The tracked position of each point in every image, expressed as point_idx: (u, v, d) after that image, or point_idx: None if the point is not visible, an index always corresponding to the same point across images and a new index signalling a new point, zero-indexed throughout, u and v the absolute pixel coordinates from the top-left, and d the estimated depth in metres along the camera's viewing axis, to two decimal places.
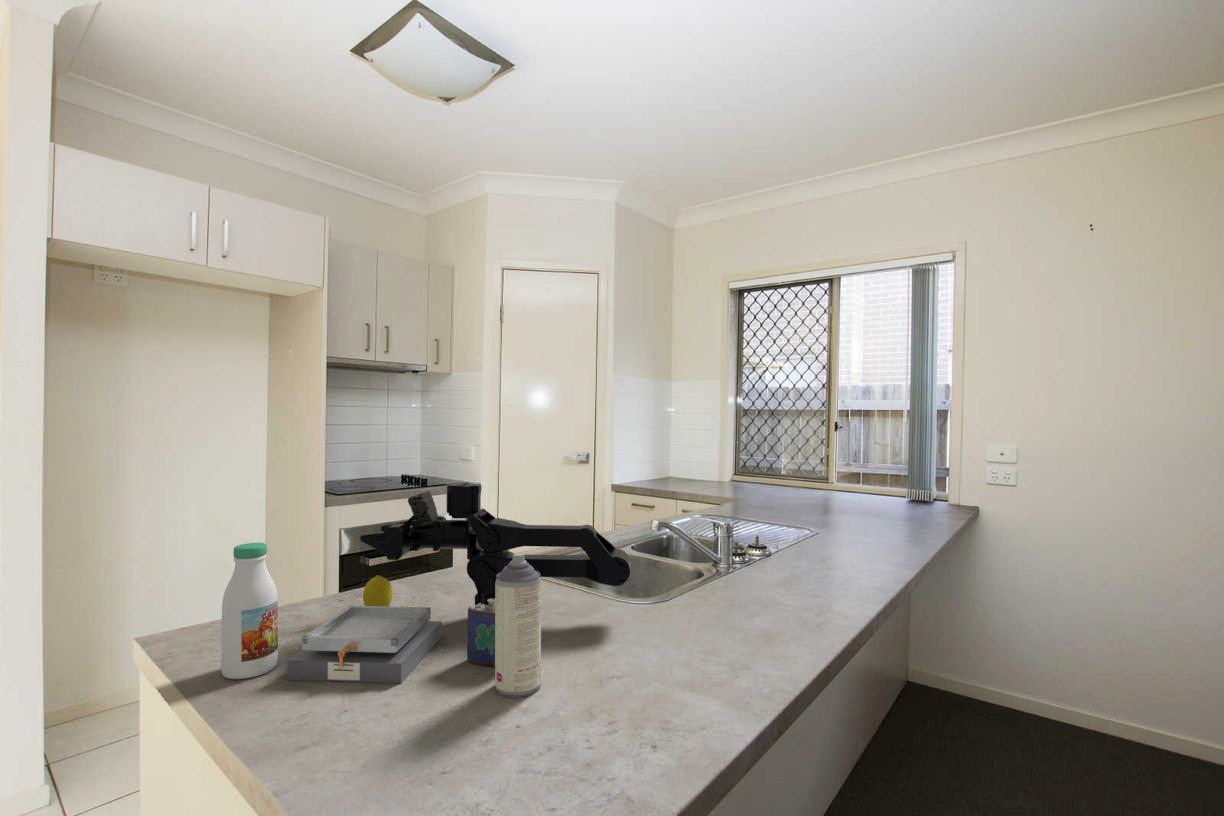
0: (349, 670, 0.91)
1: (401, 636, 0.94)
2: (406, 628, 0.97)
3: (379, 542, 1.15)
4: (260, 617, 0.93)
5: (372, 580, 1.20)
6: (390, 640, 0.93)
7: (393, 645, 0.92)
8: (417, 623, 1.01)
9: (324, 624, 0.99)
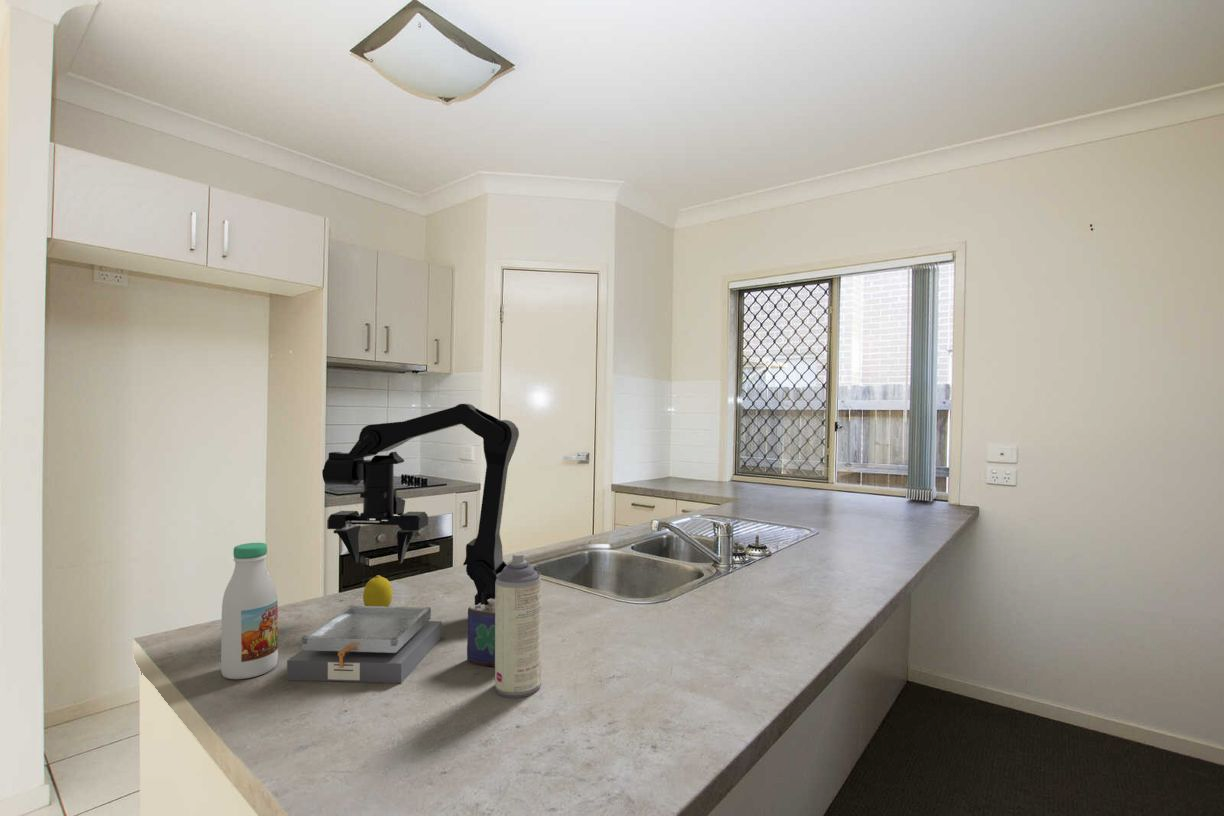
0: (349, 670, 0.91)
1: (401, 636, 0.94)
2: (406, 628, 0.97)
3: None
4: (260, 617, 0.93)
5: (372, 580, 1.20)
6: (390, 640, 0.93)
7: (393, 645, 0.92)
8: (417, 623, 1.01)
9: (324, 624, 0.99)
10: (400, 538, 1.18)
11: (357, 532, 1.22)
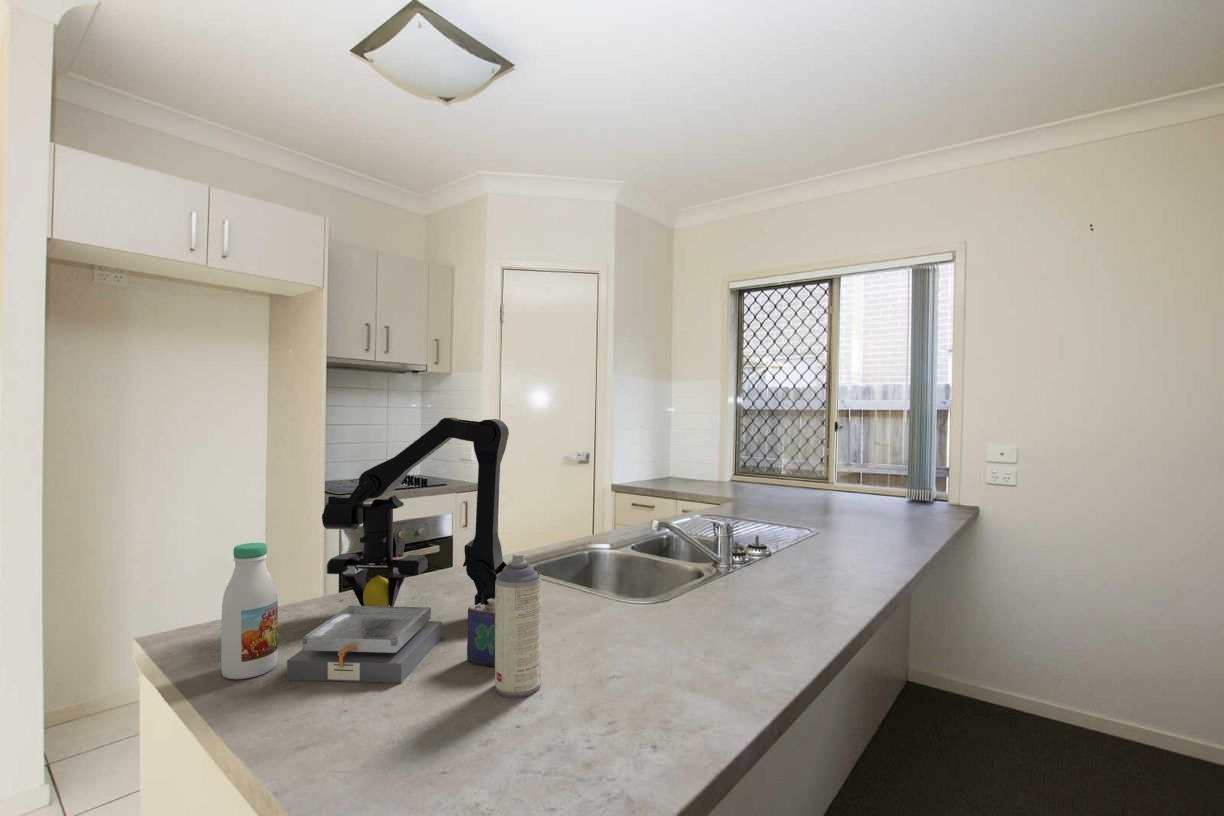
0: (349, 670, 0.91)
1: (401, 636, 0.94)
2: (406, 628, 0.97)
3: None
4: (260, 617, 0.93)
5: (372, 580, 1.20)
6: (390, 640, 0.93)
7: (393, 645, 0.92)
8: (417, 623, 1.01)
9: (324, 624, 0.99)
10: (391, 583, 1.18)
11: (364, 576, 1.22)
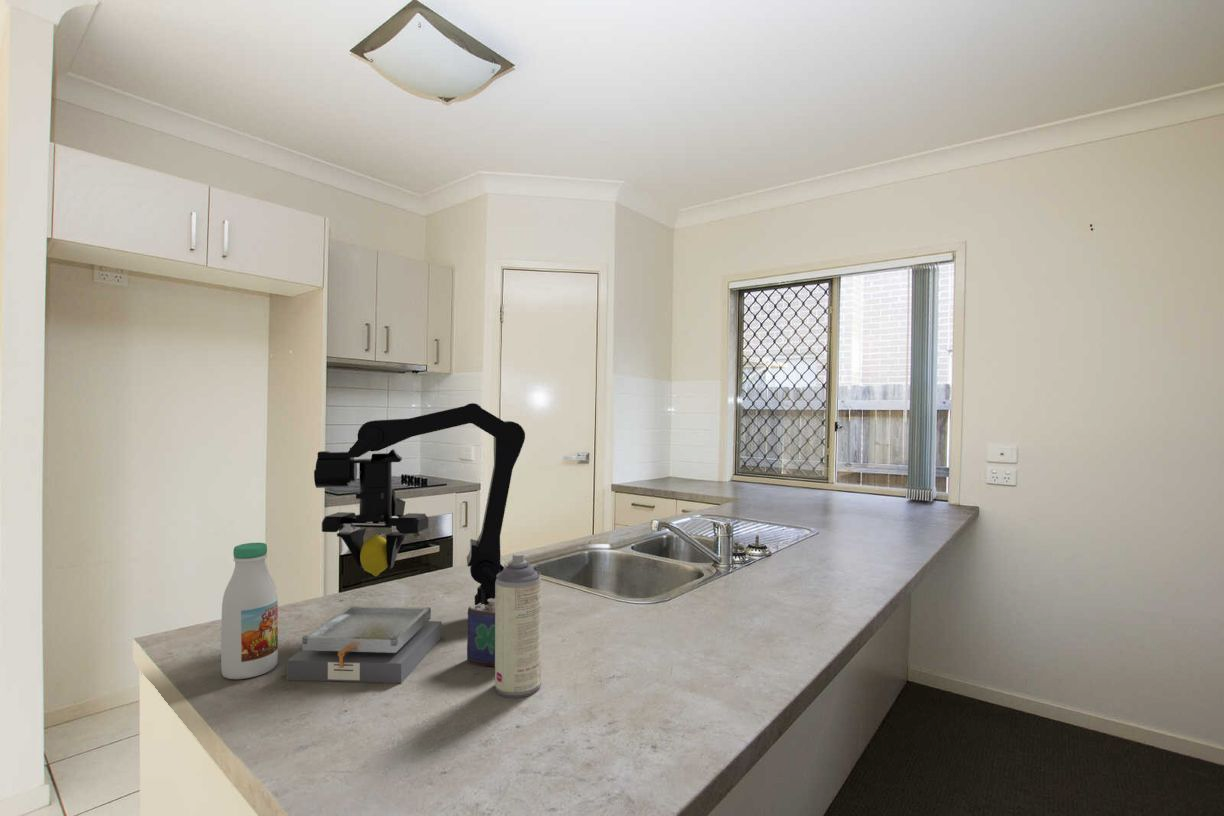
0: (349, 670, 0.91)
1: (401, 636, 0.94)
2: (406, 628, 0.97)
3: None
4: (260, 617, 0.93)
5: (369, 539, 1.13)
6: (390, 640, 0.93)
7: (393, 645, 0.92)
8: (417, 623, 1.01)
9: (324, 624, 0.99)
10: (389, 542, 1.11)
11: (362, 535, 1.15)
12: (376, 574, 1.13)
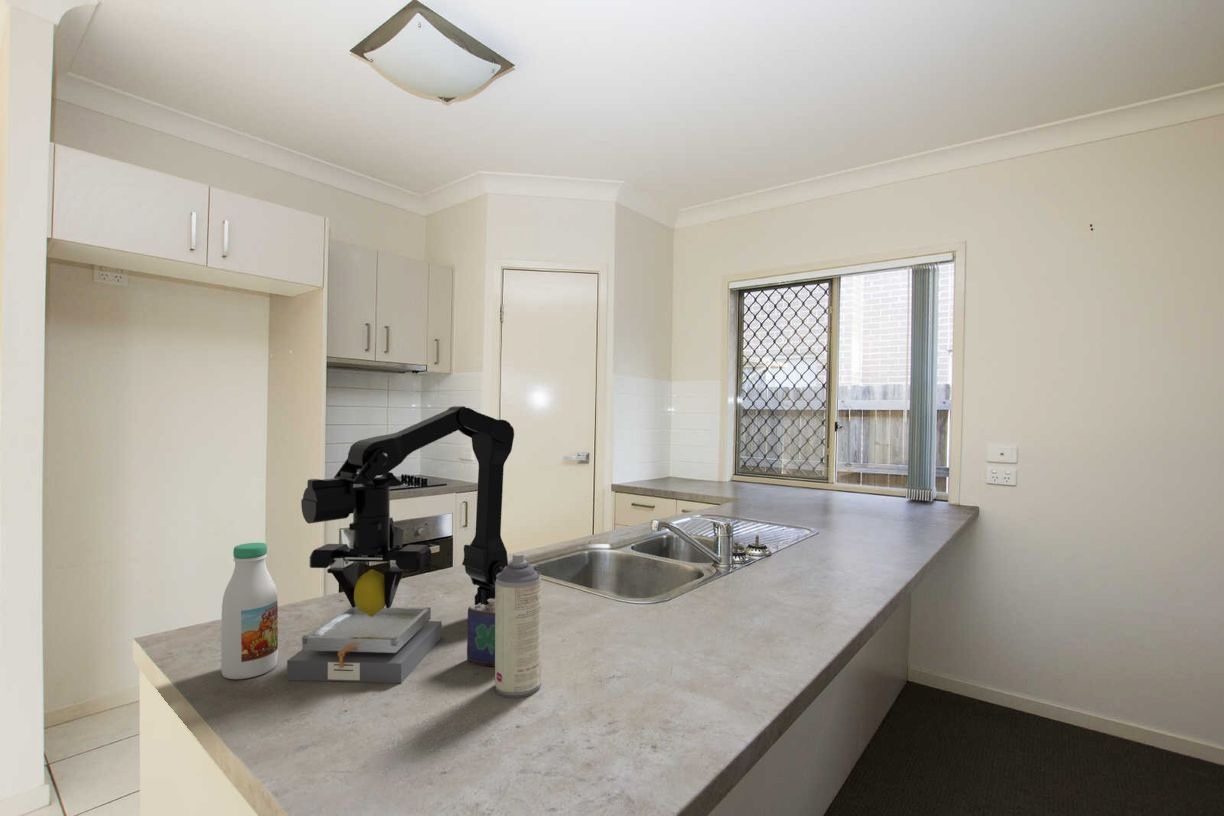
0: (349, 670, 0.91)
1: (401, 636, 0.94)
2: (406, 628, 0.97)
3: None
4: (260, 617, 0.93)
5: (365, 575, 0.99)
6: (390, 640, 0.93)
7: (393, 645, 0.92)
8: (417, 623, 1.01)
9: (324, 624, 0.99)
10: (388, 578, 0.98)
11: (356, 570, 1.02)
12: (372, 614, 1.00)
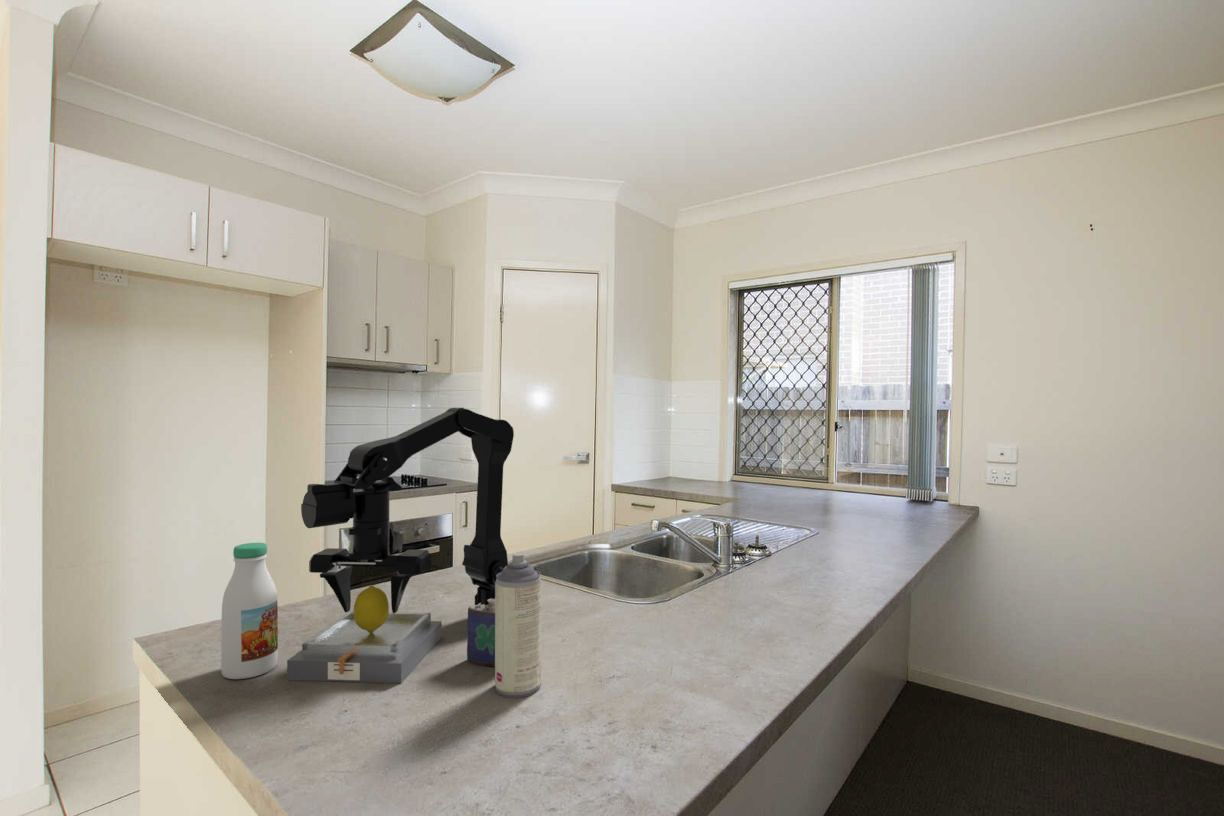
0: (349, 670, 0.91)
1: (400, 642, 0.94)
2: (406, 634, 0.97)
3: None
4: (260, 617, 0.93)
5: (364, 592, 0.99)
6: (390, 646, 0.93)
7: (393, 651, 0.92)
8: (417, 629, 1.01)
9: (324, 630, 0.99)
10: (394, 584, 0.98)
11: (349, 574, 1.02)
12: (372, 631, 1.00)
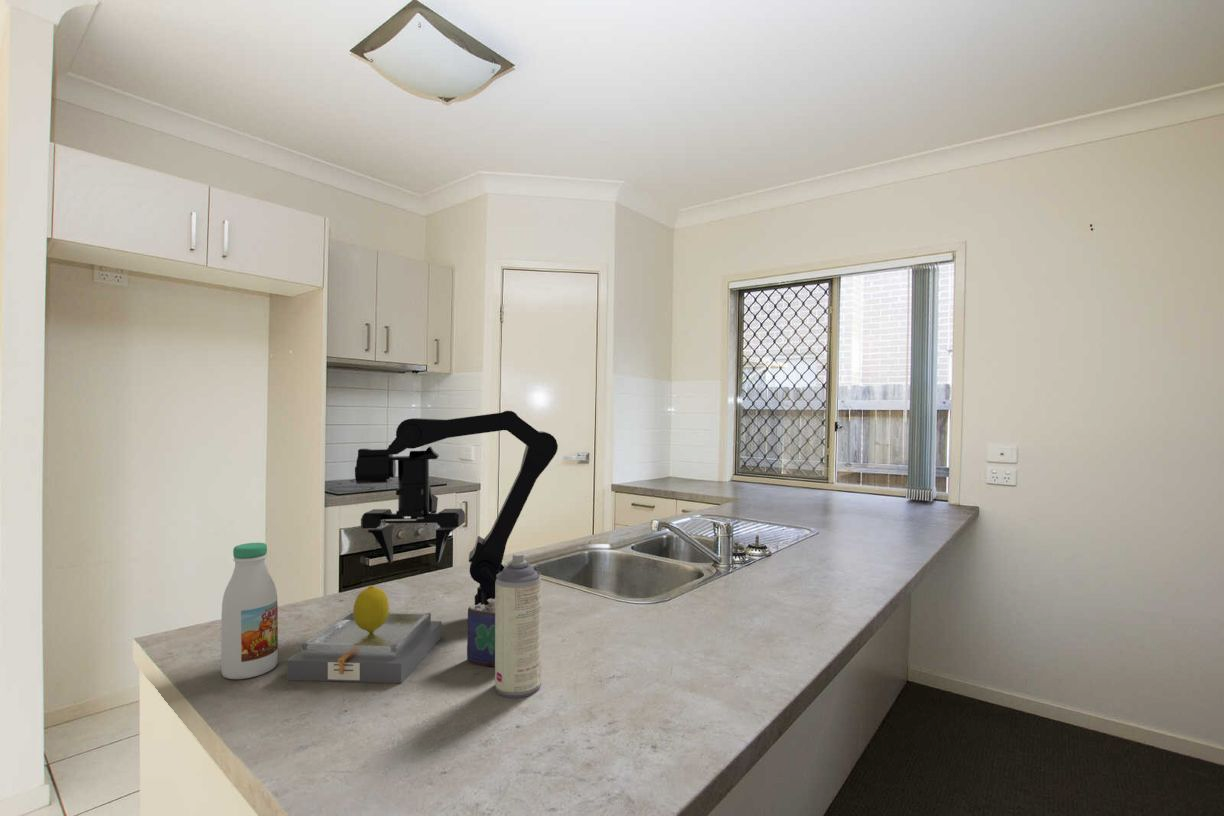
0: (349, 670, 0.91)
1: (400, 642, 0.94)
2: (406, 634, 0.97)
3: None
4: (260, 617, 0.93)
5: (364, 592, 0.99)
6: (390, 646, 0.93)
7: (393, 651, 0.92)
8: (417, 629, 1.01)
9: (324, 630, 0.99)
10: (439, 536, 1.14)
11: (391, 531, 1.17)
12: (372, 631, 1.00)
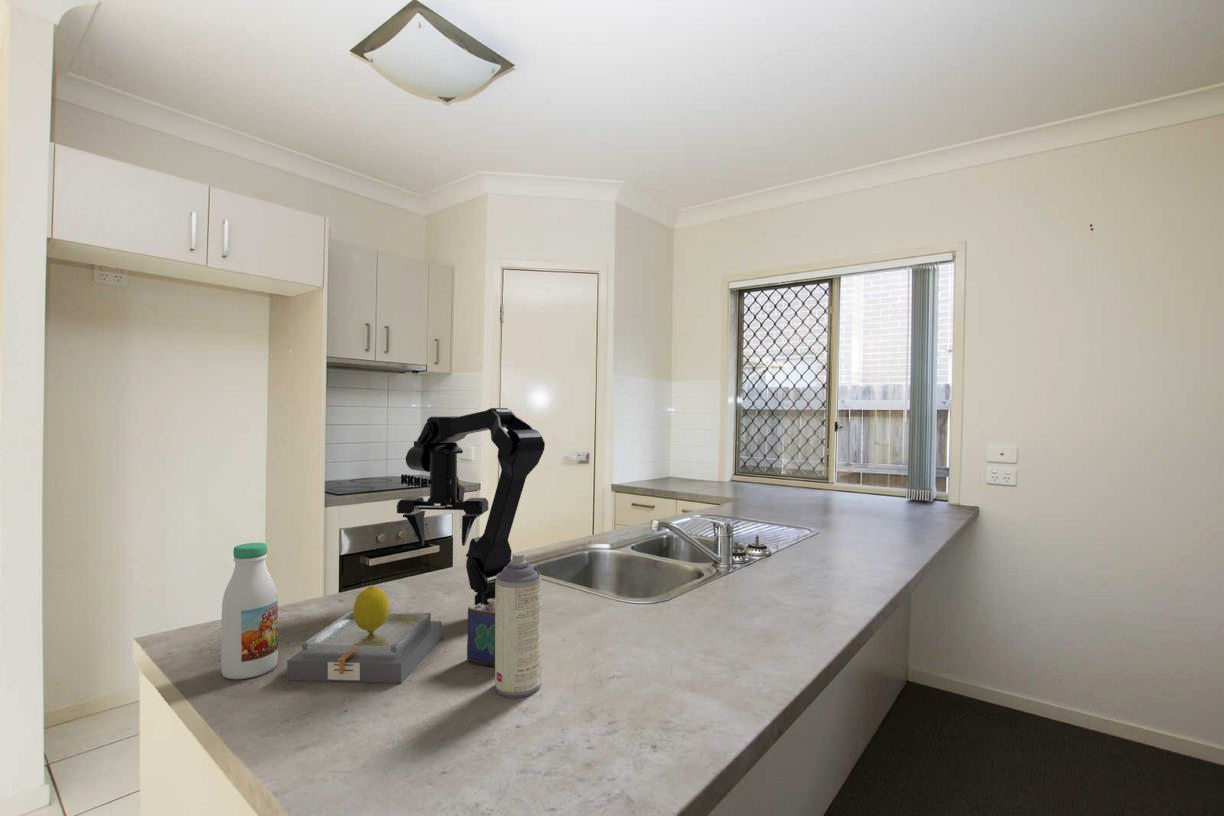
0: (349, 670, 0.91)
1: (400, 642, 0.94)
2: (406, 634, 0.97)
3: None
4: (260, 617, 0.93)
5: (364, 592, 0.99)
6: (390, 646, 0.93)
7: (393, 651, 0.92)
8: (417, 629, 1.01)
9: (324, 630, 0.99)
10: (465, 522, 1.27)
11: (423, 517, 1.32)
12: (372, 631, 1.00)
